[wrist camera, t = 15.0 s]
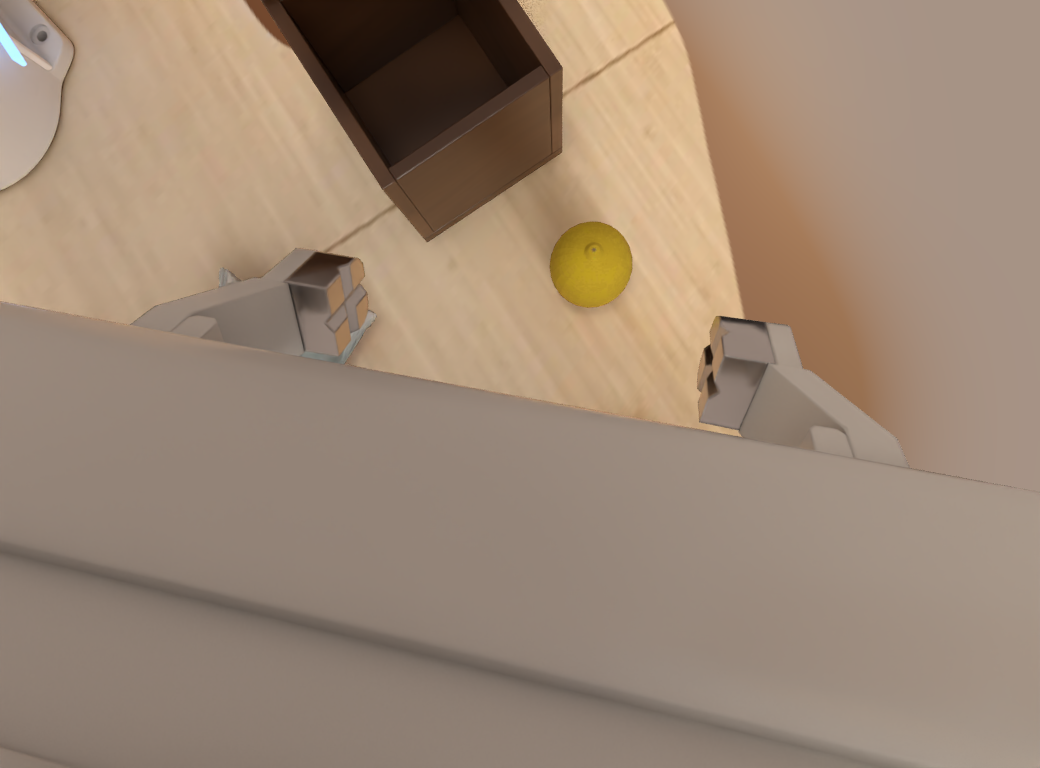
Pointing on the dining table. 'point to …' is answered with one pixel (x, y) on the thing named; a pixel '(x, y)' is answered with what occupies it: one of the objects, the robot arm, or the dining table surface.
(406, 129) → the chest
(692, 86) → the dining table surface
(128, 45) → the dining table surface
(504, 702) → the robot arm
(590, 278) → the lemon
